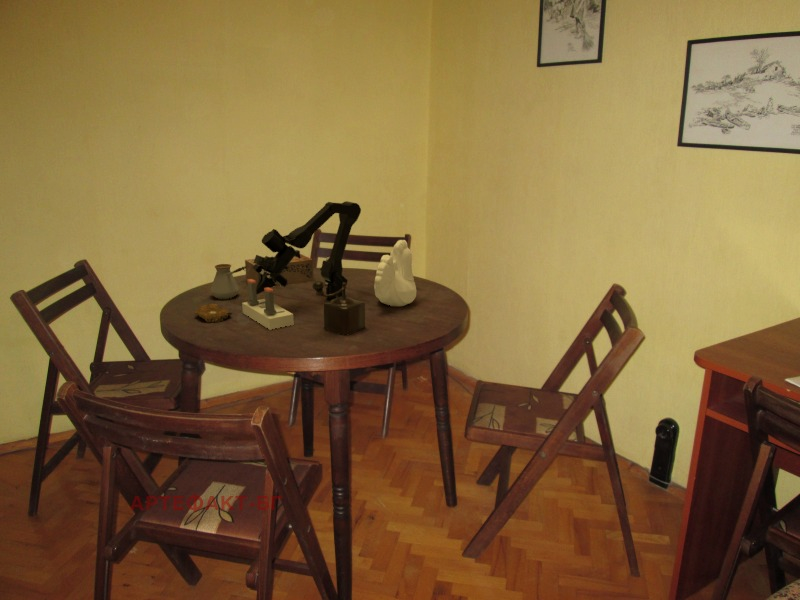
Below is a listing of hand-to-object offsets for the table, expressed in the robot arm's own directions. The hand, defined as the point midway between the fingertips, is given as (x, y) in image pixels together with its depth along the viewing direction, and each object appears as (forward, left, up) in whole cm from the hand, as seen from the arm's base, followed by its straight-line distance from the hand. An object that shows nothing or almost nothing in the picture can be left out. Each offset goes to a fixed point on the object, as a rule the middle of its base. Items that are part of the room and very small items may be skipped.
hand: (255, 293), depth 221 cm
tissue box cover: (+11, -46, -8) cm, 48 cm away
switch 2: (-10, +10, -4) cm, 15 cm away
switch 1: (+1, +1, -4) cm, 4 cm away
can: (-14, -46, -8) cm, 49 cm away
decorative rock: (+15, +6, -9) cm, 18 cm away
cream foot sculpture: (-45, -23, -8) cm, 51 cm away
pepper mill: (-35, +9, -8) cm, 37 cm away
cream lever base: (-6, +4, -8) cm, 11 cm away
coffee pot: (+18, -16, -8) cm, 26 cm away
